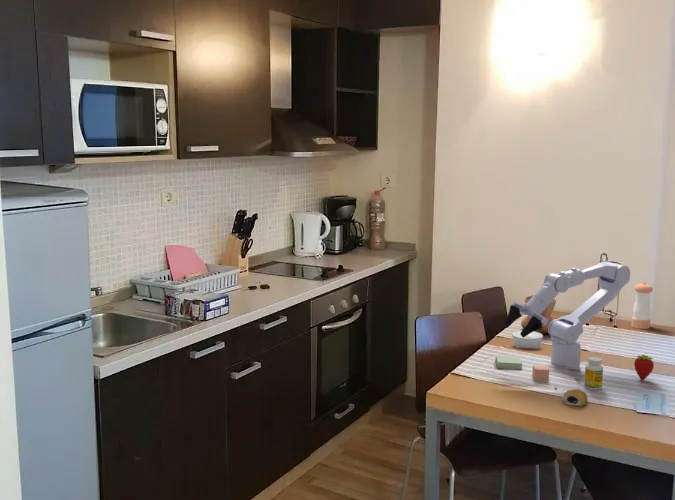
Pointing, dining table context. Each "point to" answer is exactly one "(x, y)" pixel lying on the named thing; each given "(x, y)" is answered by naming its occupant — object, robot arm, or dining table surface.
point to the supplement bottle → (593, 374)
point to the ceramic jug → (545, 313)
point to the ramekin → (527, 340)
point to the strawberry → (643, 366)
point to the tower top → (508, 362)
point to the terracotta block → (540, 372)
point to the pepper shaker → (642, 306)
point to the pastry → (575, 398)
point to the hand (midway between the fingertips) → (513, 330)
